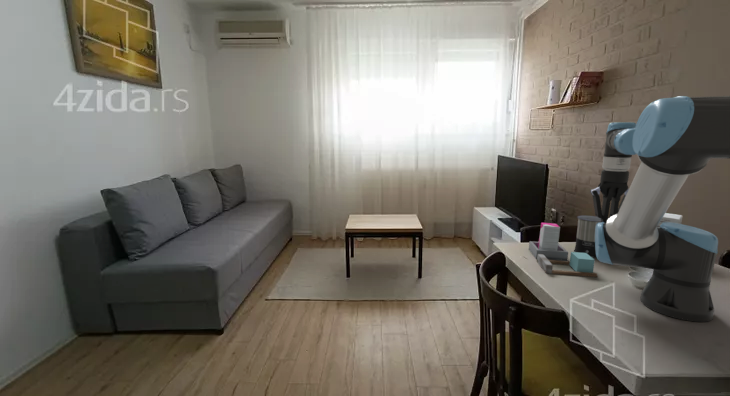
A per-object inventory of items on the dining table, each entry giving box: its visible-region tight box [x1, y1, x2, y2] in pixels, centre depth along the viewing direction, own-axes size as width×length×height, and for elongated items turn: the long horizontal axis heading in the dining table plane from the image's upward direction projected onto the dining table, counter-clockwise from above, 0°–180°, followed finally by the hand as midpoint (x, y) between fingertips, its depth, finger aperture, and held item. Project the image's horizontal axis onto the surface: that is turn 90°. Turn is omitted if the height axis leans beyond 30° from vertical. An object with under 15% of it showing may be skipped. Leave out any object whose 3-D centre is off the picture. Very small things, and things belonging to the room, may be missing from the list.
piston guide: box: [536, 254, 598, 278], centre depth 123 cm, size 11×16×3 cm
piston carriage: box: [568, 251, 596, 273], centre depth 121 cm, size 7×5×5 cm
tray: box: [528, 240, 569, 261], centre depth 136 cm, size 11×11×4 cm
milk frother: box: [573, 215, 601, 258], centre depth 139 cm, size 14×16×15 cm
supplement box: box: [538, 222, 561, 251], centre depth 136 cm, size 6×6×12 cm
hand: (605, 237), depth 119 cm, fingers closed
